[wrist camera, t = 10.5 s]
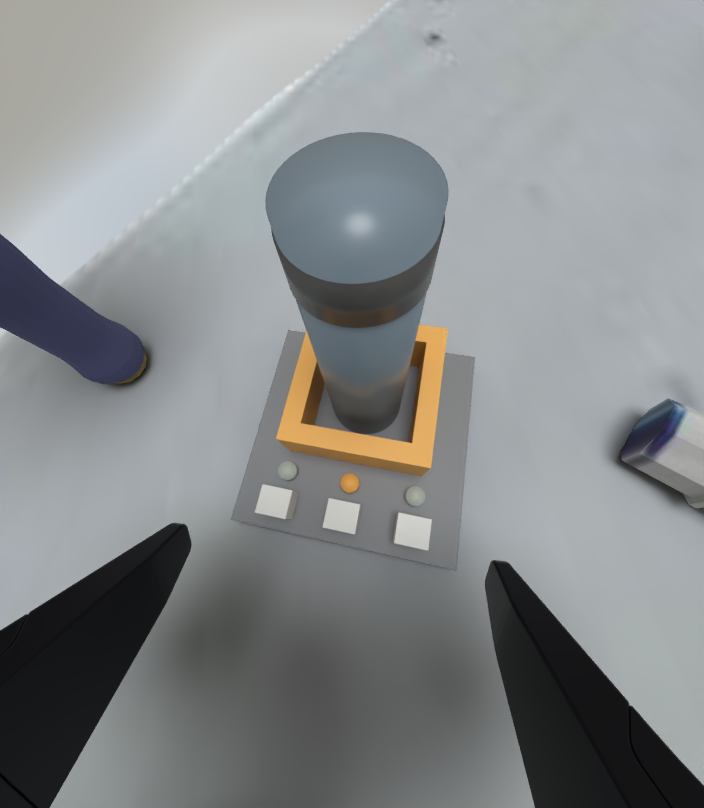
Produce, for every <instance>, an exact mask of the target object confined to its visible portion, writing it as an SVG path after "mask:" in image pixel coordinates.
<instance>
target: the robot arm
mask: <svg viewBox="0 0 704 808" xmlns="http://www.w3.org/2000/svg"><path fill="white" fill-rule="evenodd" d="M190 550H191V539H190V535H189V532H188V528H187V526H186V525H185V524H180V523H171V524H169V525H168V526H166V527H164V528H163V529H161V530H160V531H158V532H156V533H155V534H153V535H152V536H150V537H149V538H147V539H145V540H144V541H142V542H141V543H139V544H137V545H136V546H134V547H133V548H131V549H129V550H128V551H126V552H125V553H123V554H121V555H120V556H118V557H117V558H115V559H113V560H112V561H110V562H109V563H107V564H106V565H104V566H102V567H101V568H99V569H98V570H96V571H94V572H93V573H91V574H90V575H88V576H86V577H85V578H83V579H82V580H80V581H78V582H77V583H75V584H74V585H72V586H71V587H69V588H67V589H66V590H64V591H63V592H61V593H59V594H58V595H56V596H55V597H53V598H51V599H50V600H48V601H47V602H45V603H43V604H42V605H40V606H39V607H37V608H35V609H34V610H32V611H31V612H30V613H29V614H26V615H24V616H23V617H21V618H19V619H18V620H16V621H15V622H13V623H11V624H10V625H8V626H7V627H5V628H3V629H2V630H0V808H50V806H51V804H52V802H53V801H54V799H55V797H56V795H57V794H58V792H59V790H60V788H61V787H62V785H63V783H64V781H65V780H66V778H67V776H68V774H69V773H70V771H71V769H72V767H73V766H74V764H75V762H76V760H77V759H78V757H79V755H80V753H81V752H82V750H83V748H84V746H85V745H86V743H87V741H88V739H89V738H90V736H91V734H92V732H93V731H94V729H95V727H96V725H97V724H98V722H99V720H100V718H101V717H102V715H103V713H104V711H105V710H106V708H107V706H108V704H109V703H110V701H111V699H112V697H113V696H114V694H115V692H116V690H117V689H118V687H119V685H120V683H121V682H122V680H123V678H124V676H125V675H126V673H127V671H128V669H129V668H130V666H131V664H132V662H133V661H134V659H135V657H136V655H137V654H138V652H139V650H140V648H141V647H142V645H143V643H144V641H145V640H146V638H147V636H148V634H149V633H150V631H151V629H152V627H153V626H154V624H155V622H156V620H157V619H158V617H159V615H160V613H161V612H162V610H163V608H164V606H165V604H166V602H167V600H168V598H169V596H170V594H171V592H172V590H173V588H174V585H175V583H176V581H177V579H178V577H179V574H180V572H181V570H182V568H183V566H184V563H185V561H186V559H187V557H188V555H189V553H190ZM485 590H486V596H487V603H488V609H489V616H490V622H491V629H492V635H493V641H494V647H495V652H496V656H497V661H498V664H499V668H500V672H501V676H502V680H503V684H504V688H505V692H506V696H507V700H508V704H509V707H510V711H511V715H512V719H513V723H514V727H515V731H516V735H517V739H518V743H519V746H520V750H521V754H522V758H523V762H524V766H525V770H526V774H527V778H528V782H529V786H530V789H531V793H532V797H533V801H534V805H535V808H704V785H703V784H702V783H701V782H700V781H699V780H698V779H697V778H696V777H695V776H694V775H693V774H692V772H691V771H690V770H689V769H688V768H687V767H686V766H685V765H684V764H683V763H682V762H681V761H680V760H679V759H678V758H677V756H676V755H675V754H674V753H673V752H672V751H671V750H670V749H669V747H668V746H667V745H666V744H665V743H664V742H663V741H662V740H661V738H660V737H659V736H658V735H657V734H656V733H655V732H654V731H653V729H652V728H651V727H650V726H649V725H648V724H647V723H646V721H645V720H644V719H643V718H642V717H641V716H640V714H639V713H638V712H637V711H636V710H635V709H634V707H632V706H629V702H628V701H627V700H626V698H625V697H624V696H623V695H622V694H621V693H620V691H619V690H618V689H617V688H616V687H615V686H614V684H613V683H612V682H611V681H610V680H609V679H608V678H607V676H606V675H605V674H604V673H603V672H602V671H601V669H600V668H599V667H598V666H597V665H596V664H595V662H594V661H593V660H592V659H591V658H590V657H589V656H588V654H587V653H586V652H585V651H584V650H583V649H582V647H581V646H580V645H579V644H578V643H577V642H576V640H575V639H574V638H573V637H572V636H571V635H570V633H569V632H568V631H567V630H566V629H565V628H564V627H563V625H562V624H561V623H560V622H559V621H558V620H557V618H556V617H555V616H554V615H553V614H552V613H551V611H550V610H549V609H548V608H547V607H546V606H545V605H544V603H543V602H542V601H541V600H540V599H539V598H538V596H537V595H536V594H535V593H534V592H533V591H532V589H531V588H530V587H529V586H528V585H527V584H526V582H525V581H524V580H523V579H522V578H521V577H520V576H519V574H518V573H517V572H516V571H515V570H514V569H513V567H512V566H511V565H510V564H509V563H507V562H505V561H497V560H493V561H491V563H490V566H489V569H488V572H487V576H486V579H485Z"/></svg>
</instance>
